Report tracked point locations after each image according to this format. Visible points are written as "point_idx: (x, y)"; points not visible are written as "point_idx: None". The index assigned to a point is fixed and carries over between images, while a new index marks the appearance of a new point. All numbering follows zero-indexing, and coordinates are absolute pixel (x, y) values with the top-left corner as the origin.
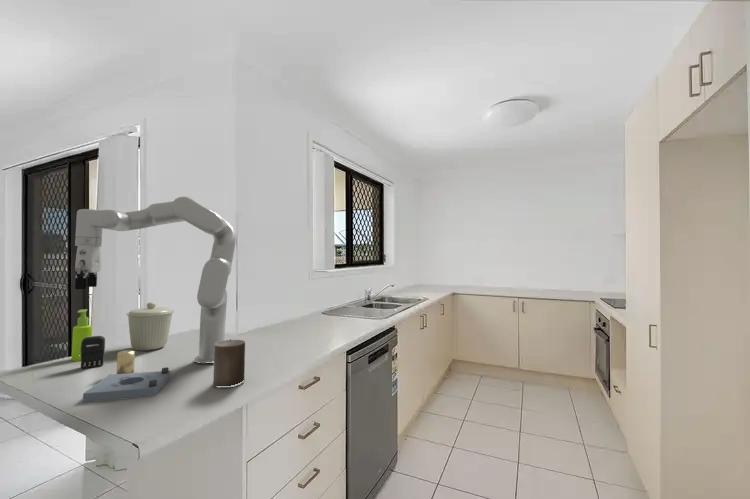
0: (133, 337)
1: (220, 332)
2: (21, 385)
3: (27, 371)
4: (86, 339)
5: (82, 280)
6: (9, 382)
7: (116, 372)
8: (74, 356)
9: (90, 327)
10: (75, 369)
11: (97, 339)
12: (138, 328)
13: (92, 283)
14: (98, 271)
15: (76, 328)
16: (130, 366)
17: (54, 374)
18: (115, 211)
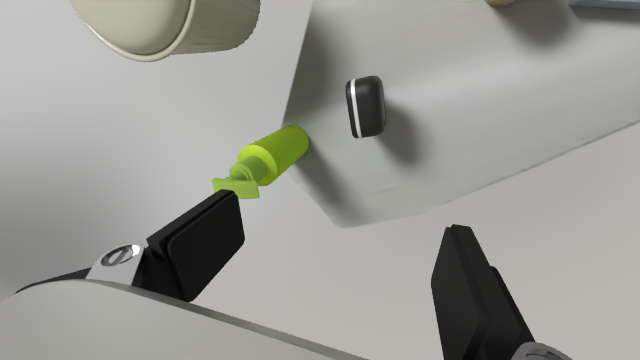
0: (237, 31)
1: None
2: (453, 191)
3: (354, 203)
4: (379, 124)
5: (524, 331)
6: (418, 211)
7: (512, 1)
8: (304, 152)
9: (261, 146)
10: None
11: (379, 94)
12: (227, 3)
13: (223, 223)
14: (118, 284)
15: (276, 175)
16: None
17: (399, 158)
18: None
